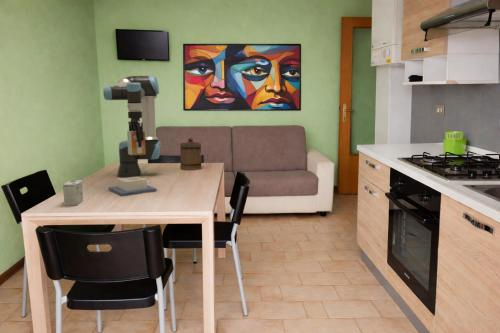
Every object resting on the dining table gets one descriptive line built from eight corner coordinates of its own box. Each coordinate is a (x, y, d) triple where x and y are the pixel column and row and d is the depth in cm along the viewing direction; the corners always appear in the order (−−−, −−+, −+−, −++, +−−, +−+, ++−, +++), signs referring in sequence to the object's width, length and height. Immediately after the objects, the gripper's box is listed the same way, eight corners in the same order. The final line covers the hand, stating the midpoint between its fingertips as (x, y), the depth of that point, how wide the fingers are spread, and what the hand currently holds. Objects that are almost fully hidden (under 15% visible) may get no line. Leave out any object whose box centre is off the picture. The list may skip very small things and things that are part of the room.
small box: (132, 155, 261) (131, 131, 259) (127, 154, 266) (126, 131, 264) (146, 154, 266) (145, 130, 264) (141, 153, 271) (140, 130, 269)
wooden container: (205, 167, 343) (205, 137, 339) (192, 170, 331) (191, 139, 327) (189, 166, 351) (188, 136, 347) (176, 169, 339) (175, 138, 335)
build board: (108, 190, 269) (107, 178, 268) (141, 185, 280) (141, 174, 279) (122, 196, 253) (121, 184, 252) (156, 191, 265) (156, 179, 264)
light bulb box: (70, 200, 243) (68, 180, 241) (83, 200, 244) (82, 179, 242) (63, 205, 232) (62, 184, 231) (78, 205, 233) (76, 183, 231)
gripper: (121, 110, 267) (123, 151, 271) (136, 111, 252) (137, 154, 256) (133, 110, 272) (135, 150, 275) (149, 111, 257) (150, 153, 260)
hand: (136, 152), depth 266 cm, fingers closed on small box, 6 cm apart
